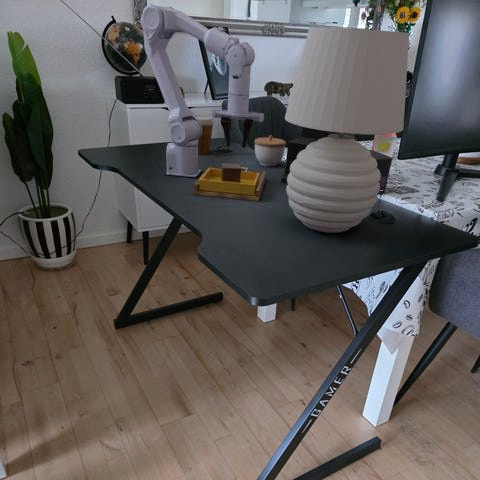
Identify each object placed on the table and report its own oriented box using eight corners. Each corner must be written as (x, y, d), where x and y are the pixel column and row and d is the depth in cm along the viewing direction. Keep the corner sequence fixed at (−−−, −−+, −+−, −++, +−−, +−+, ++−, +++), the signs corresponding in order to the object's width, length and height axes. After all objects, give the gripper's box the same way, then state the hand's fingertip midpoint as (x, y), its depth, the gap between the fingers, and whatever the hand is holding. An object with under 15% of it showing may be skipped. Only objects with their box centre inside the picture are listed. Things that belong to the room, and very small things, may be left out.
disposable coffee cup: (191, 148, 170) (190, 114, 164) (215, 150, 170) (216, 116, 163) (185, 154, 163) (184, 118, 156) (210, 156, 162) (211, 120, 155)
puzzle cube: (371, 156, 177) (376, 134, 173) (371, 152, 184) (375, 131, 180) (392, 158, 176) (397, 137, 172) (391, 154, 183) (395, 133, 178)
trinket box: (281, 169, 152) (284, 140, 147) (250, 166, 153) (252, 136, 148) (285, 162, 161) (288, 134, 156) (256, 159, 162) (258, 131, 157)
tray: (199, 189, 123) (199, 179, 122) (211, 173, 138) (212, 163, 137) (254, 195, 122) (254, 184, 120) (260, 177, 137) (261, 168, 135)
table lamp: (322, 201, 124) (350, 30, 103) (400, 231, 108) (451, 36, 87) (253, 217, 111) (267, 24, 89) (329, 254, 94) (370, 28, 73)
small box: (347, 184, 140) (353, 149, 135) (364, 183, 143) (371, 149, 137) (368, 195, 132) (375, 158, 127) (385, 193, 135) (394, 157, 129)
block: (222, 186, 125) (223, 167, 122) (220, 181, 129) (221, 163, 127) (240, 186, 126) (241, 168, 123) (238, 181, 130) (238, 163, 127)
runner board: (193, 194, 123) (193, 184, 122) (209, 174, 141) (209, 165, 140) (258, 201, 122) (259, 190, 120) (265, 179, 140) (266, 170, 138)
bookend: (312, 188, 135) (324, 102, 122) (280, 181, 139) (289, 97, 127) (339, 173, 152) (352, 96, 139) (309, 167, 157) (320, 92, 144)
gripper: (209, 93, 120) (208, 147, 127) (263, 98, 119) (259, 151, 126) (214, 91, 126) (213, 142, 133) (266, 95, 124) (262, 146, 132)
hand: (236, 146), depth 130 cm, fingers open, 4 cm apart
